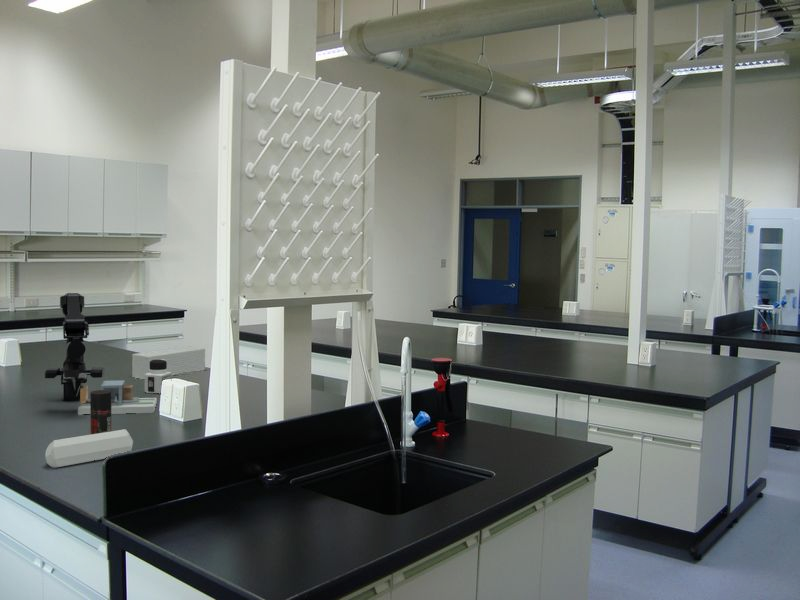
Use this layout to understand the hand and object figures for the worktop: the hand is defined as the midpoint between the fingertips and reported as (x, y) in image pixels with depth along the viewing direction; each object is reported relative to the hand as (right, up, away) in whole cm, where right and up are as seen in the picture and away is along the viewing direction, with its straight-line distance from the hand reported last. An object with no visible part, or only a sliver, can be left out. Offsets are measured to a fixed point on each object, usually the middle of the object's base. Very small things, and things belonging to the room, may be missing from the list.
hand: (75, 396), depth 257 cm
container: (+18, -3, +35) cm, 39 cm away
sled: (+11, -2, +3) cm, 12 cm away
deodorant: (+23, -9, -35) cm, 43 cm away
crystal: (+28, -11, -53) cm, 61 cm away
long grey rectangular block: (+11, 0, +72) cm, 72 cm away
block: (+16, -1, +4) cm, 17 cm away
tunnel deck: (+14, -5, +4) cm, 16 cm away
